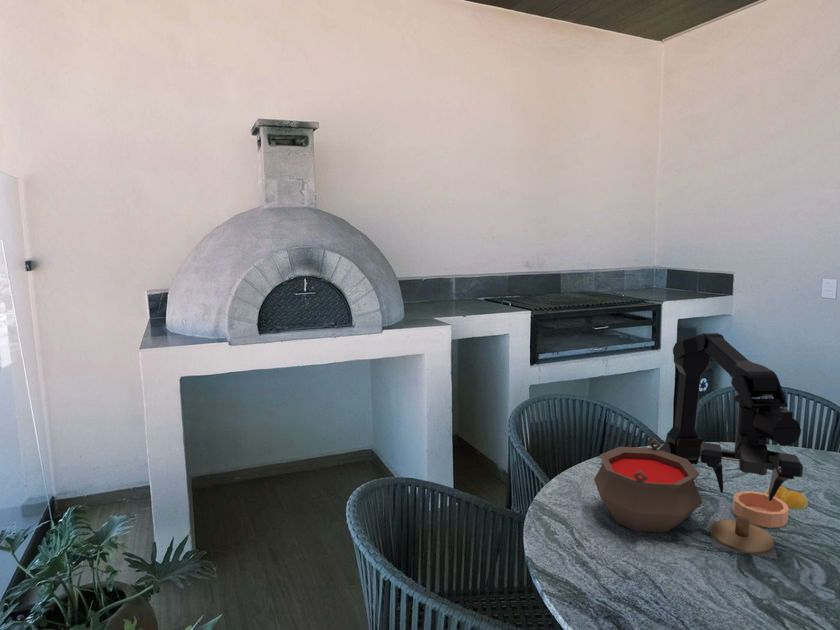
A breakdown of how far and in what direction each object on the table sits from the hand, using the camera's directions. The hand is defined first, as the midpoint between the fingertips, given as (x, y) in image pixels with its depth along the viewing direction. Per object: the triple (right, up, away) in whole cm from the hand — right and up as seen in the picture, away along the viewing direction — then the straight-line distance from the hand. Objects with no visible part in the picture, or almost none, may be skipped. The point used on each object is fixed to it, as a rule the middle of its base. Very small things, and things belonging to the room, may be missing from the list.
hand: (745, 496), depth 125 cm
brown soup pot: (-18, -9, +11) cm, 23 cm away
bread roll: (+20, -8, +19) cm, 29 cm away
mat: (0, -10, +2) cm, 11 cm away
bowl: (+10, -9, +11) cm, 17 cm away
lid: (0, -10, +1) cm, 10 cm away
